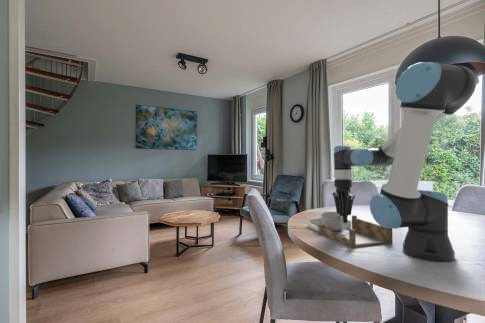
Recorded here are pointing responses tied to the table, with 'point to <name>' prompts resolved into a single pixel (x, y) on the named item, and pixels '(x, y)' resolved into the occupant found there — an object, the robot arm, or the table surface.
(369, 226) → the wooden frame
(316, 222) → the holder
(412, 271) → the table surface
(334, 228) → the teacup
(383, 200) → the robot arm
